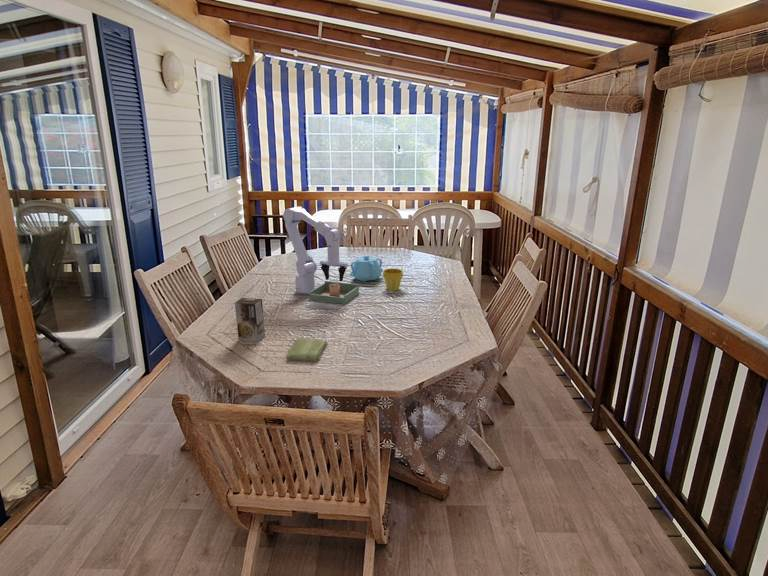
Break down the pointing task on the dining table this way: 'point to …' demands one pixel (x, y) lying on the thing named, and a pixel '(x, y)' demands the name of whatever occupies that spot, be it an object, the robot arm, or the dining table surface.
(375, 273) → the decorative pot
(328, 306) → the mat
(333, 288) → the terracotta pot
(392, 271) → the plant pot
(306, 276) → the robot arm
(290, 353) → the washcloth
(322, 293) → the green shallow tray
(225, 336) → the dining table surface
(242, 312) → the coffee box
